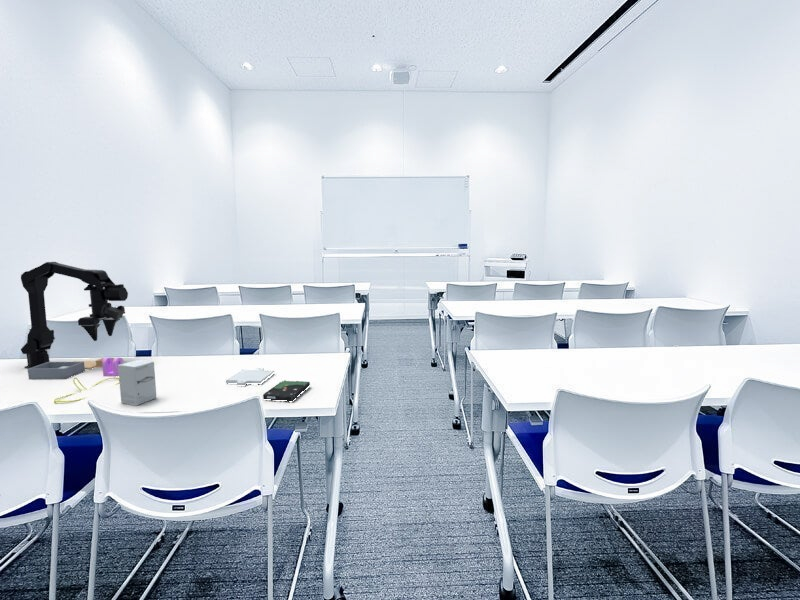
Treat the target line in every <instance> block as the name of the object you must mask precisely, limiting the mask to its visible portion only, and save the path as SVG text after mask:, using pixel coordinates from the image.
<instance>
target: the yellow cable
mask: <svg viewBox="0 0 800 600" xmlns="http://www.w3.org/2000/svg"><path fill="white" fill-rule="evenodd" d="M75 379H76V380H77V382H78V384H79V385H80V386H81V387H83V389H85V390H86V389H88V388H86V387H85V386H84V385H83V384H82V382H81V381H80V380H79V379H78V378H77V377H74V378H73V379H72V381H73V384H74V385H75V387H76V388H77V389H78V390H79V391H80V392H81V391H83V390H82V389H81V388H80V387H79V386H78V385H77V383H76V381H75ZM112 379H113V380H114V379H115V380H119V377H116V376H113V377H108V378H105V379H103V380H100V381H98V382H96V383H95V384H93V385H95V386H96V385H98V384H100V383H103V382H104V381H107V380H112ZM114 385H115V386H117V385H120V382H119V381H118V383H116V384H114ZM72 394H73V393H70V394H66V395H62V396H60V397H56V398H55V399H53V401H54V402H55V403H72V402H74V403H75V402H77V401H81V399H82V400H84V399H83V398H84V397H82V398H79V399H75V400H60V399H62V398H65V397H66V398H67V397H68V396H69V395H70V396H72Z"/></svg>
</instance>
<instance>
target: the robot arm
mask: <svg viewBox="0 0 800 600" xmlns="http://www.w3.org/2000/svg"><path fill="white" fill-rule="evenodd" d="M55 274H58V275H61V276H66V277H69V278H74V279H78V280H80V281H81V282H83V283H85V284H87V286H86V287H84V288H83V290H84V291H89V297H90V303H89V304H88V307H89V308H91V314H90V313H89V316H83V317H80V318H78V320H77V324H78V326H80V327H82V328H83V329H84V330H85V331H86V332H87V334H88V335H89V336H90V338H91V339H92V340H93V342H97V341H98V328H99V327H100V325H101V324H100V321H102V322H103V324H104V327H105V331H106V333H107V335H108V337H112V336H113V334H114V329H115V326H116V323H117V322H118V321H120V320H121V319H122V318H123V316H124V314H126V310H125V306H123V305H117V306H112V303H111V302H124V301H126V300H127V299H128V297H129V291H128V289H126V287H125V286H124V284H123V283H121V284H116V283H115V282H113V280H112V279H111V278H110V277H109V275H108V273H107V271H105V270H104V269H86V268H80V267H77V266H72V265H67V264H63V263H59V262H58V261H46V262H44V263H43V264H41V265H38V266H36V267H35V268H32V269H31V270H28V271H27V270H25V271H24V272H23V273H21V274H20V281H21V284H22V288H24V290H25V291H26V292H27V295H28V304H29V314H30V315H29V317H30V325H31V326H30V329H29V331H28V334H27V336H26V337H27V339H26V343H25V344H24V345H23V346H22V348H20V351H21V353H22V355H26V361H27V362H26V363H27V365H26V366H24V369H29V368H32V367H35V366H38V365H41V364H44V363H47V362H50V356H49V352H48V350H51V348H52V344H53V343H54V341H55V340H56V337H55V330H54V329H50V328H49V327H48V324H47V313H46V299H45V291H46V289H47V287H48V284H49V279H50V278H51V277H53V276H54V275H55Z"/></svg>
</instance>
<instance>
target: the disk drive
mask: <svg viewBox="0 0 800 600" xmlns="http://www.w3.org/2000/svg"><path fill="white" fill-rule="evenodd" d="M310 382H311V381H299V380H296V381H295V380H294V381H293V380H282V381H280V382H279V383H277V384H276V385H275V386H272V387H271V388H270V389H269V390H267V391H265V392H264V393H263V394H262V395H263V396H262V398H263V399H271V400H287V401H293V400H294V399H295V398H296V397H297V396H298V395H299V394H300V393H301V392H302V391H304V390H305V389H306V388H307V387H308V386H309V385H310V386H311V383H310Z"/></svg>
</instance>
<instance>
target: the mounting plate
mask: <svg viewBox="0 0 800 600" xmlns="http://www.w3.org/2000/svg"><path fill="white" fill-rule="evenodd" d="M273 372H275V370H269V369H268V370H265V368H262V367H261V368H258V367H257V368H256V369H241V370H240V371H238V372H236V373H235V374H233V375H231V376H230V377H228V378H227V379H225V384H226V383H237V384H236V386H237V385H245V384H246V383H261V382H262V381H263V380H265V379H266V378H267V377H268V376H270V375H271V374H272V373H273Z"/></svg>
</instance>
